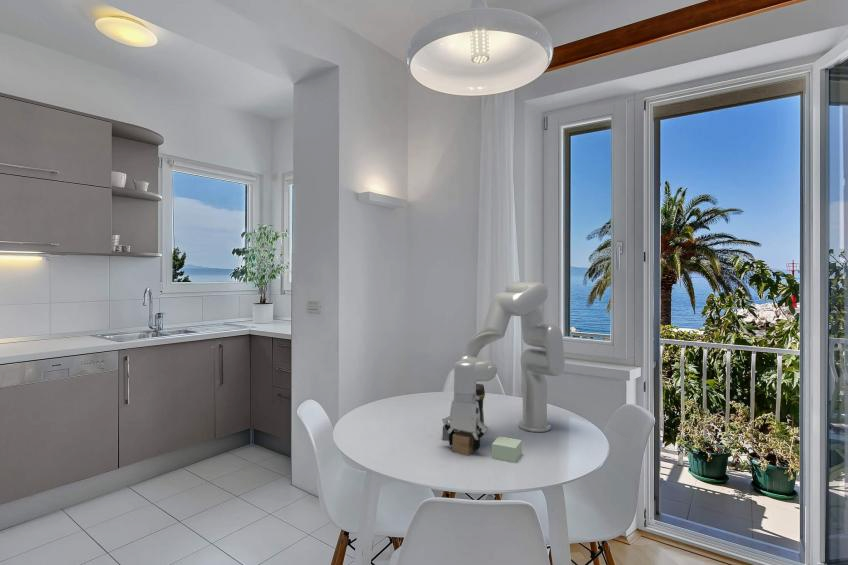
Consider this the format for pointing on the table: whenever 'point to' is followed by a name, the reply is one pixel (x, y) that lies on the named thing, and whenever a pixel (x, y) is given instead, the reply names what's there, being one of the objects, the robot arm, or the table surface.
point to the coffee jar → (480, 401)
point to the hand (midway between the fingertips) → (464, 447)
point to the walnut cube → (463, 443)
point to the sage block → (507, 449)
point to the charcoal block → (446, 433)
